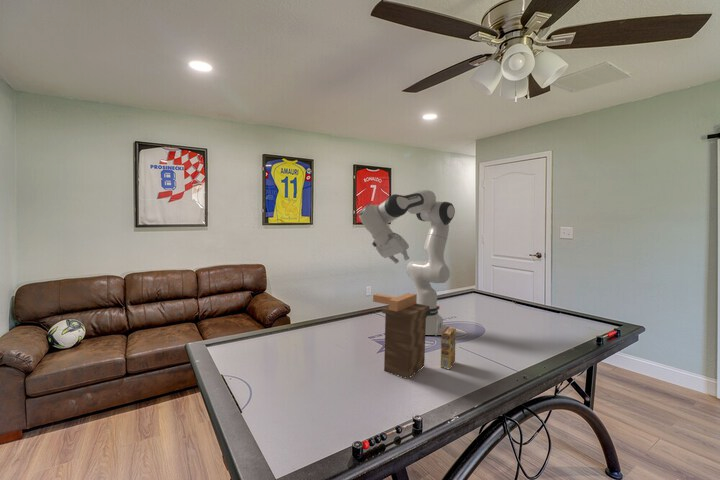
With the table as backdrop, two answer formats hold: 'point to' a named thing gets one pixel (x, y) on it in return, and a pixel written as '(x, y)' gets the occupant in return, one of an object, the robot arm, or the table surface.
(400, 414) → the table surface
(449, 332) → the candy box
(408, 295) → the t bar
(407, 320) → the stand
